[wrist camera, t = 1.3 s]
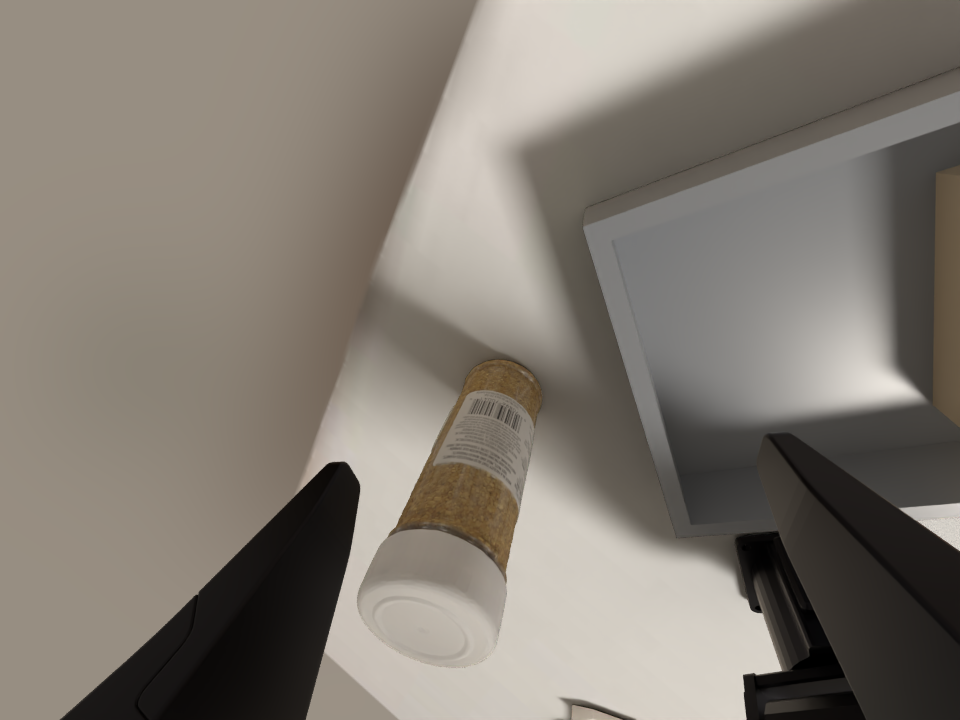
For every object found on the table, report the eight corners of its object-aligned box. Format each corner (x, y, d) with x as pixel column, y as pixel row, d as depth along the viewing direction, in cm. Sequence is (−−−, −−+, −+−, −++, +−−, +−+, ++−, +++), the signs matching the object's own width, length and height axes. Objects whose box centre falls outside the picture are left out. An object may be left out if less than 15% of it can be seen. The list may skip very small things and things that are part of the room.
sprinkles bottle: (451, 394, 25) (330, 619, 14) (493, 340, 23) (389, 559, 11) (514, 436, 26) (447, 690, 14) (561, 388, 23) (527, 646, 12)
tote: (1200, 415, 17) (1352, 489, 13) (665, 480, 24) (676, 538, 21) (1350, -81, 11) (1689, -173, 8) (585, 208, 19) (582, 227, 15)
